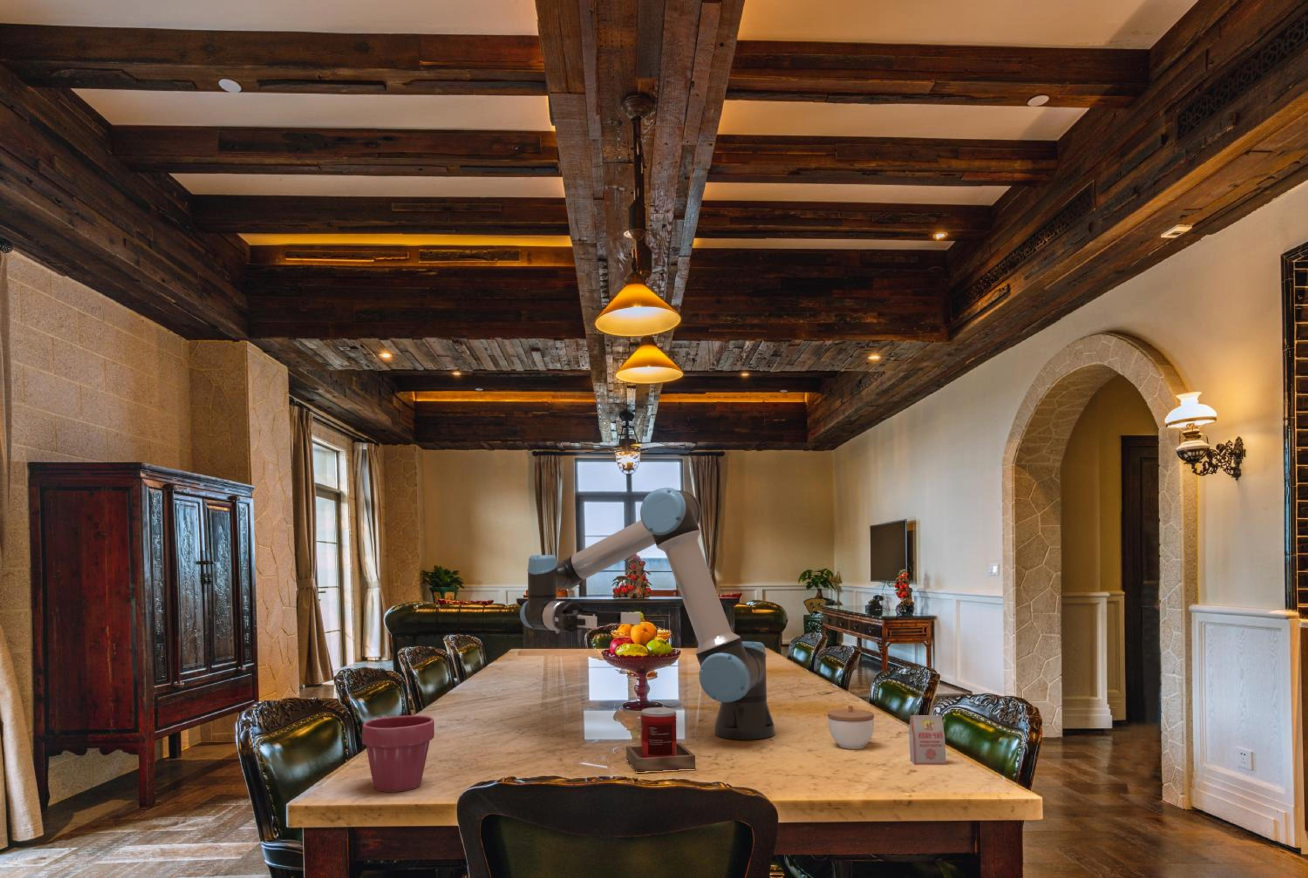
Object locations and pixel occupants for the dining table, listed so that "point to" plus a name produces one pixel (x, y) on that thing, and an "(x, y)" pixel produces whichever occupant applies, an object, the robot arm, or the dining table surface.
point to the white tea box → (927, 740)
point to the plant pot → (397, 750)
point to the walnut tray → (660, 760)
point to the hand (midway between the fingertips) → (618, 620)
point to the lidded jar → (851, 727)
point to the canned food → (658, 732)
